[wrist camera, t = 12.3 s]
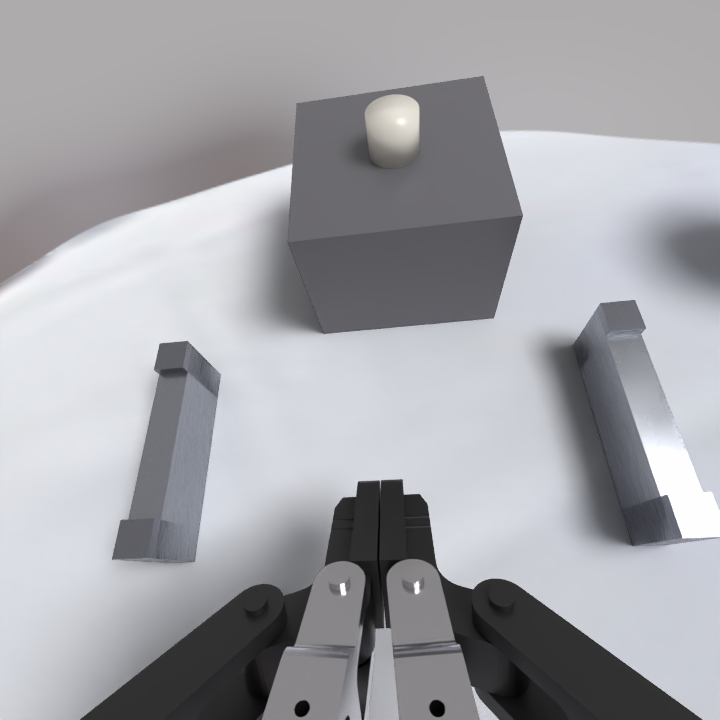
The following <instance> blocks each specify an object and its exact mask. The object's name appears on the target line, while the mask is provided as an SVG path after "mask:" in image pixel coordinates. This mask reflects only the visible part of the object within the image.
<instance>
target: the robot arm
mask: <svg viewBox="0 0 720 720" xmlns="http://www.w3.org/2000/svg"><path fill="white" fill-rule="evenodd" d="M384 610H385V620H386V628H391V634H392V645H393V656H394V667H395V678H396V688H397V699H398V710H399V720H480V719H479V715H478V711H477V707H476V703H475V699H474V696H473V692H472V688H471V686H472V687H474V688H475V691H476V693H477V695H478V696H479V698H480V699H481V700H482V702H483V703H484V704H485V705H486V706H487V707H488V708H489V709H490V710H491V711H492V712H493V713H494V714H495V715H496V717H497V718H498V719H499V720H702V719H701V718H699V717H698V716H697V715H695V714H694V713H693V712H691V711H690V710H688V709H687V708H686V707H684V706H683V705H682V704H680V703H679V702H677V701H676V700H675V699H673V698H672V697H671V696H669V695H668V694H666V693H665V692H664V691H662V690H661V689H660V688H658V687H657V686H655V685H654V684H653V683H651V682H650V681H649V680H647V679H646V678H644V677H643V676H642V675H640V674H639V673H637V672H636V671H635V670H633V669H632V668H631V667H629V666H628V665H626V664H625V663H624V662H622V661H621V660H620V659H618V658H617V657H615V656H614V655H613V654H611V653H610V652H609V651H607V650H606V649H604V648H603V647H602V646H600V645H599V644H598V643H596V642H595V641H593V640H592V639H591V638H589V637H588V636H587V635H585V634H584V633H582V632H581V631H580V630H578V629H577V628H576V627H574V626H573V625H571V624H570V623H569V622H567V621H566V620H565V619H563V618H562V617H560V616H559V615H558V614H556V613H555V612H554V611H552V610H551V609H549V608H548V607H547V606H545V605H544V604H543V603H541V602H540V601H538V600H537V599H536V598H534V597H533V596H531V595H530V594H529V593H527V592H526V591H525V590H523V589H522V588H520V587H519V586H517V585H516V584H514V583H512V582H510V581H507V580H503V579H488V580H485V581H482V582H481V583H479V584H478V585H477V586H476V587H475V588H474V590H473V589H469V588H465V587H461V586H458V585H456V584H453V583H451V582H450V581H448V580H447V579H446V578H444V577H443V576H442V574H441V573H440V572H439V570H438V568H437V565H436V560H435V553H434V546H433V540H432V533H431V526H430V519H429V512H428V505H427V503H426V502H425V500H424V499H423V498H422V497H421V495H420V494H411V495H404V493H403V480H402V479H399V480H381V487H380V481H359V482H358V486H357V495H356V497H347V498H342V500H341V501H340V502H339V504H338V505H337V506H336V507H335V511H334V517H333V523H332V528H331V534H330V539H329V545H328V550H327V556H326V562H325V567H324V568H322V569H321V570H320V571H319V572H318V573H317V575H316V577H315V579H314V582H313V584H312V585H311V586H309V587H307V588H305V589H303V590H301V591H298V592H295V593H291V594H288V595H285V596H283V594H282V592H281V591H280V590H279V589H278V588H277V587H275V586H273V585H269V584H260V585H256V586H253V587H250V588H248V589H246V590H244V591H243V592H242V593H240V594H239V595H238V596H236V597H235V598H234V599H233V600H231V601H230V602H229V603H228V604H226V605H225V606H224V607H222V608H221V609H220V610H219V611H217V612H216V613H215V614H214V615H212V616H211V617H210V618H209V619H207V620H206V621H205V622H203V623H202V624H201V625H200V626H198V627H197V628H196V629H195V630H193V631H192V632H191V633H189V634H188V635H187V636H186V637H184V638H183V639H182V640H181V641H179V642H178V643H177V644H175V645H174V646H173V647H172V648H170V649H169V650H168V651H167V652H165V653H164V654H163V655H161V656H160V657H159V658H158V659H156V660H155V661H154V662H153V663H151V664H150V665H149V666H148V667H146V668H145V669H144V670H142V671H141V672H140V673H139V674H137V675H136V676H135V677H134V678H132V679H131V680H130V681H128V682H127V683H126V684H125V685H123V686H122V687H121V688H120V689H118V690H117V691H116V692H114V693H113V694H112V695H111V696H109V697H108V698H107V699H106V700H104V701H103V702H102V703H101V704H99V705H98V706H97V707H95V708H94V709H93V710H92V711H90V712H89V713H88V714H87V715H85V716H84V717H83V718H81V719H80V720H368V714H369V704H370V695H371V685H372V675H373V666H374V647H375V628H384Z"/></svg>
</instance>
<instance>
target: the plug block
mask: <svg viewBox="0 0 720 720" xmlns="http://www.w3.org/2000/svg"><path fill="white" fill-rule="evenodd" d="M522 217H523V214H522V210H521V207H520V203H519V200H518V196H517V193H516V189H515V186H514V182H513V179H512V175H511V172H510V168H509V165H508V161H507V157H506V154H505V150H504V147H503V143H502V140H501V136H500V133H499V129H498V126H497V122H496V119H495V115H494V112H493V108H492V105H491V101H490V98H489V94H488V90H487V87H486V84H485V80H484V77H483V76H481V77H474V78H467V79H460V80H453V81H447V82H440V83H433V84H426V85H419V86H412V87H406V88H399V89H392V90H386V91H378V92H371V93H365V94H358V95H351V96H345V97H337V98H331V99H324V100H318V101H310V102H303V103H297V108H296V123H295V138H294V154H293V168H292V183H291V198H290V214H289V229H288V244H289V247H290V249H291V252H292V255H293V257H294V260H295V262H296V265H297V267H298V270H299V272H300V275H301V277H302V280H303V282H304V285H305V287H306V290H307V292H308V295H309V298H310V300H311V303H312V305H313V308H314V310H315V313H316V315H317V318H318V320H319V323H320V325H321V328H322V330H323V333H324V334H327V333H338V332H349V331H360V330H371V329H381V328H392V327H403V326H414V325H425V324H436V323H447V322H457V321H468V320H479V319H490V318H494V316H495V312H496V309H497V305H498V302H499V298H500V295H501V291H502V287H503V284H504V280H505V277H506V273H507V270H508V266H509V263H510V259H511V256H512V252H513V249H514V245H515V242H516V238H517V234H518V231H519V227H520V224H521V220H522Z"/></svg>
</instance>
